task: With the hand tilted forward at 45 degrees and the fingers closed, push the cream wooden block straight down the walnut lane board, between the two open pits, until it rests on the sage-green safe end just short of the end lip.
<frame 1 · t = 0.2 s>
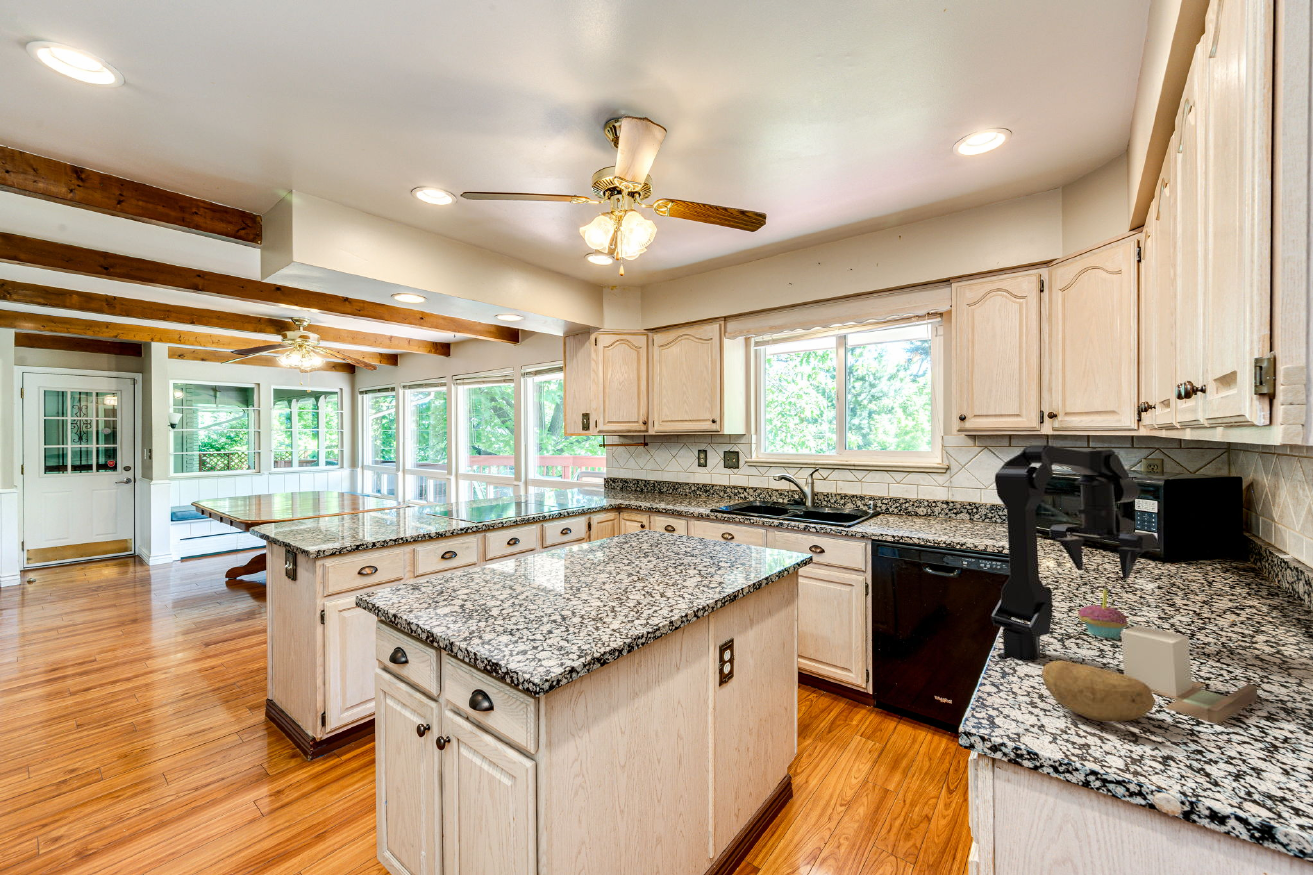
hand: (1102, 574, 117), 14 cm above the counter, tool pointing down, fingers open, 9 cm apart
lane board: (1157, 690, 92), on the counter
potato: (1097, 718, 84), on the counter
block: (1157, 684, 92), point 1 cm above the counter, touching lane board
cupcake: (1103, 638, 117), on the counter
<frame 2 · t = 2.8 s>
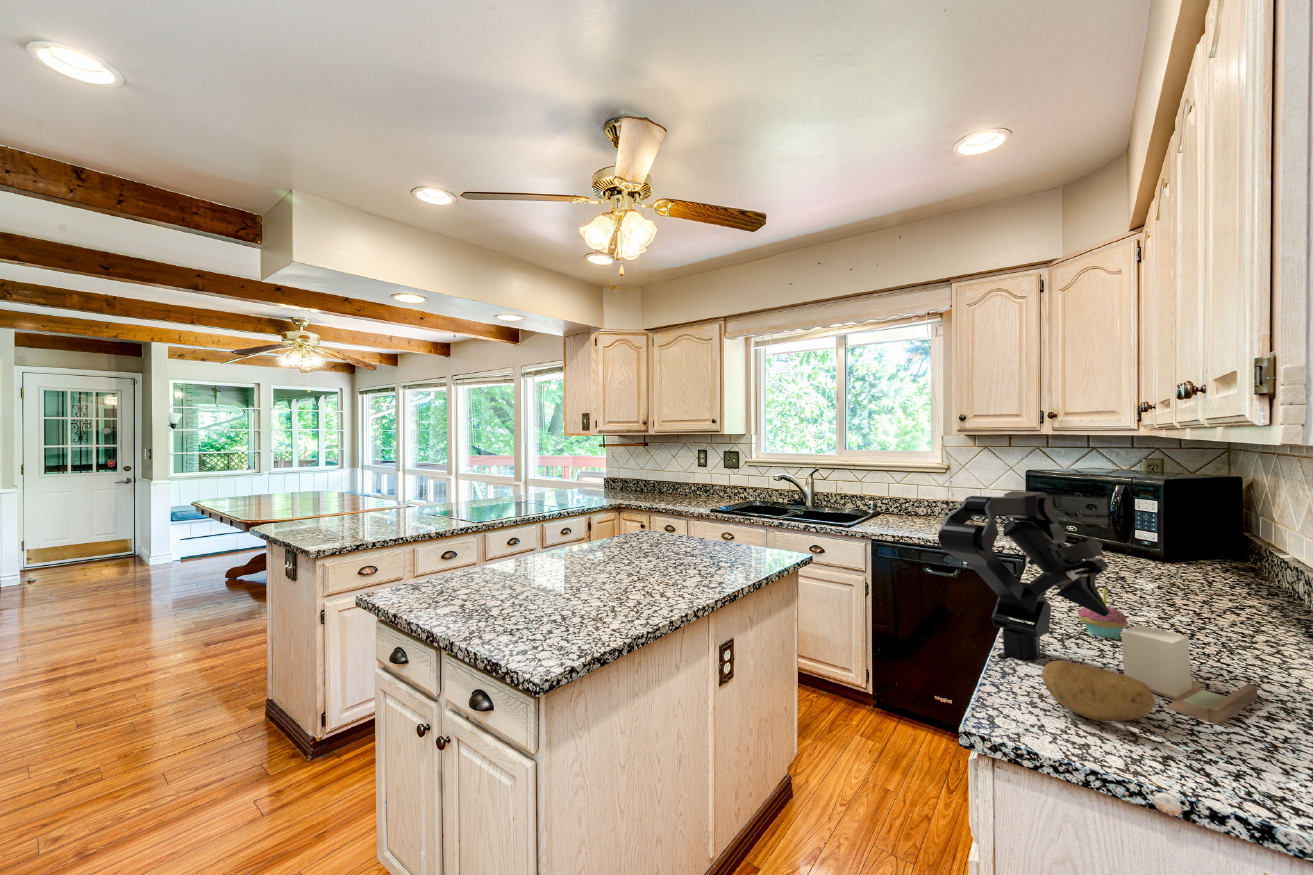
hand: (1107, 614, 99), 11 cm above the counter, tool tilted 45°, fingers closed
nothing on the counter moved.
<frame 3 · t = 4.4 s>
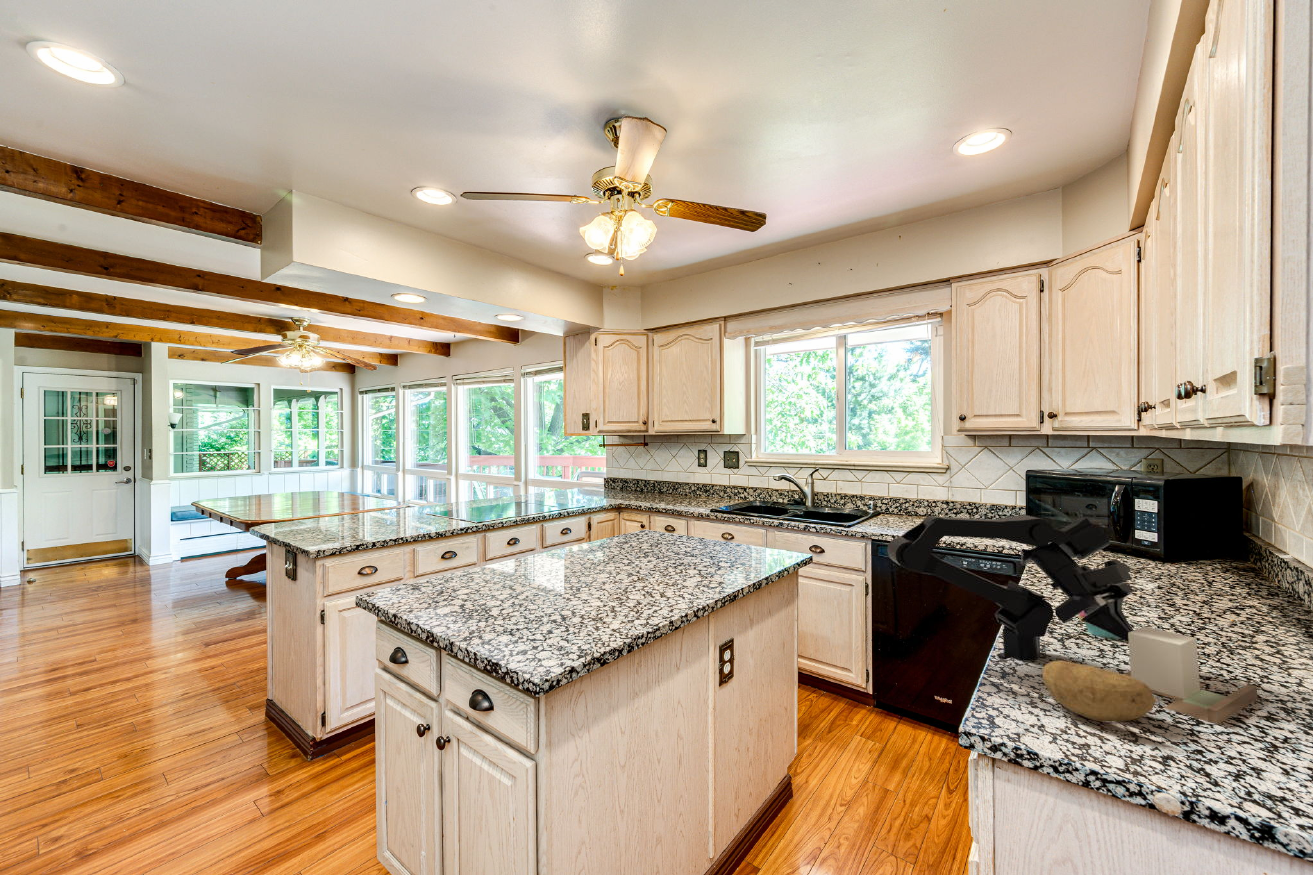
hand: (1136, 642, 95), 8 cm above the counter, tool tilted 45°, fingers closed, pressing on block
block: (1165, 687, 91), point 1 cm above the counter, touching gripper
everything else where it was.
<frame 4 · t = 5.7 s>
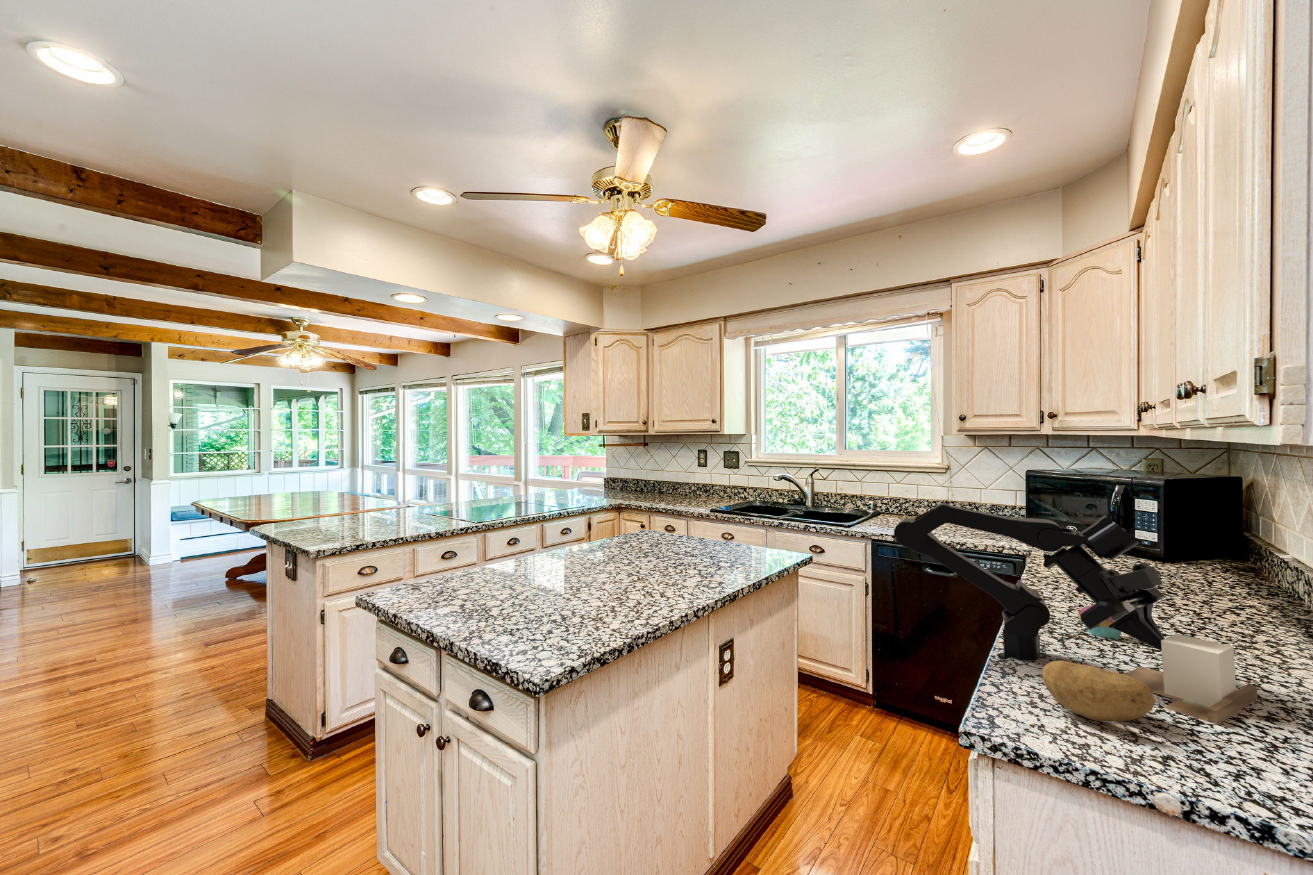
hand: (1167, 650, 91), 8 cm above the counter, tool tilted 45°, fingers closed, pressing on block
block: (1199, 697, 87), point 1 cm above the counter, touching gripper, lane board
everything else where it was.
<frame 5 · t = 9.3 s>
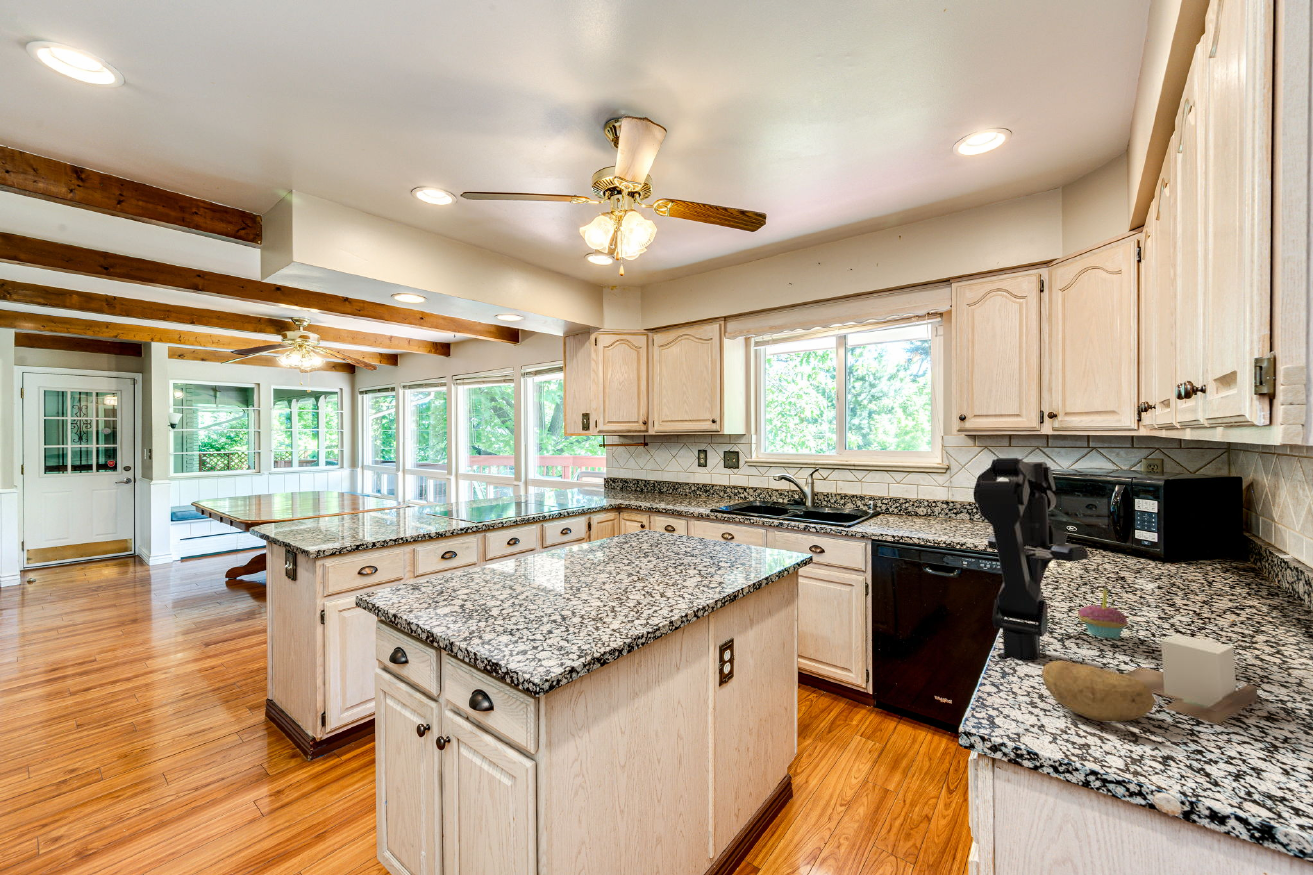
hand: (1036, 585, 119), 12 cm above the counter, tool pointing down, fingers closed
block: (1199, 697, 87), point 1 cm above the counter, touching lane board
everything else where it was.
at the end: block 0.8 cm from the target spot on the lane board, point 1.0 cm above the lane board's base; block tilted 0° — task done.
